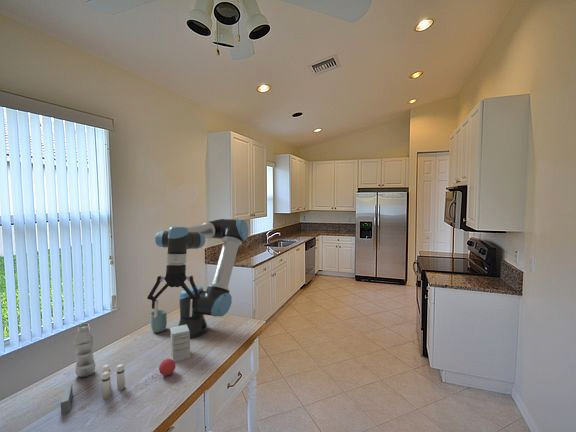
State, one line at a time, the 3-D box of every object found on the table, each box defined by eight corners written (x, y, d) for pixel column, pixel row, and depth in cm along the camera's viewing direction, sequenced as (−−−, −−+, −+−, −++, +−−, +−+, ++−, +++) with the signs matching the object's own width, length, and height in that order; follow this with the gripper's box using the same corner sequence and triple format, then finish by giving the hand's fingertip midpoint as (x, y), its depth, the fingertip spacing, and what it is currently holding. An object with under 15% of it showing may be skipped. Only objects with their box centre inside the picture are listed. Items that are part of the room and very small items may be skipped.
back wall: (72, 394, 103) (72, 383, 103) (68, 412, 95) (68, 400, 95) (65, 396, 102) (65, 385, 102) (61, 414, 94) (60, 402, 94)
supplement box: (170, 354, 130) (169, 327, 129) (188, 350, 133) (187, 323, 132) (172, 362, 123) (171, 334, 122) (190, 358, 126) (189, 330, 126)
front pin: (124, 385, 108) (124, 363, 108) (125, 388, 106) (124, 366, 106) (117, 387, 107) (116, 365, 107) (117, 391, 105) (116, 368, 105)
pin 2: (110, 393, 104) (109, 370, 103) (110, 397, 102) (109, 373, 101) (102, 395, 103) (101, 372, 102) (102, 399, 101) (101, 376, 100)
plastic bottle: (85, 380, 111) (83, 330, 110) (71, 378, 113) (68, 328, 111) (99, 370, 118) (97, 322, 116) (85, 368, 119) (83, 321, 118)
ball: (174, 368, 119) (173, 354, 119) (176, 375, 114) (176, 361, 114) (158, 372, 116) (157, 358, 116) (160, 380, 111) (159, 365, 110)
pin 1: (111, 385, 108) (110, 363, 108) (110, 389, 106) (109, 366, 106) (103, 387, 107) (102, 365, 106) (103, 391, 105) (102, 368, 104)
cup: (169, 330, 153) (169, 312, 152) (154, 335, 147) (154, 316, 147) (163, 326, 158) (162, 308, 158) (148, 331, 152) (147, 312, 152)
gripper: (141, 264, 113) (137, 319, 112) (207, 265, 118) (204, 318, 117) (146, 262, 120) (143, 314, 119) (208, 263, 126) (205, 313, 124)
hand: (173, 316), depth 118 cm, fingers open, 13 cm apart
